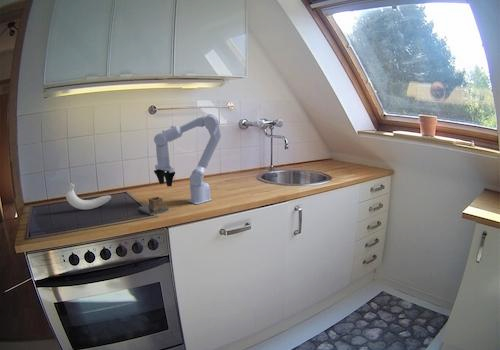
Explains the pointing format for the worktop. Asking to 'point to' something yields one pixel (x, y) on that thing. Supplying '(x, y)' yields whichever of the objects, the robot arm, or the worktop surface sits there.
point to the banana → (85, 204)
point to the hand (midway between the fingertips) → (165, 184)
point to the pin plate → (150, 212)
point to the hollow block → (155, 204)
